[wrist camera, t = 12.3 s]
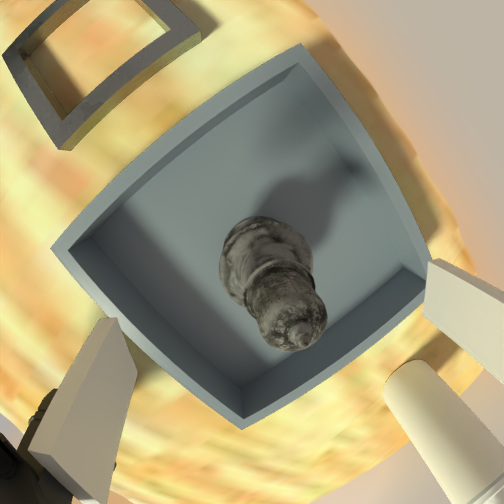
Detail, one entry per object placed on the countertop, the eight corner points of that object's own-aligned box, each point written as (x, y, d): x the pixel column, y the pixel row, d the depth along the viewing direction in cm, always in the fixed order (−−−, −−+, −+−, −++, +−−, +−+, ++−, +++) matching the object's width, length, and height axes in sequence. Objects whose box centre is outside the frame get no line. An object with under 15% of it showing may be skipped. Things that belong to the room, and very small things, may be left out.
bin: (80, 232, 20) (50, 248, 16) (283, 68, 19) (300, 42, 14) (237, 392, 26) (241, 429, 21) (408, 265, 24) (441, 284, 20)
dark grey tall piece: (210, 221, 20) (202, 289, 9) (292, 204, 21) (379, 249, 9) (227, 297, 22) (241, 417, 11) (303, 280, 22) (376, 379, 11)
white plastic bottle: (381, 410, 30) (474, 562, 6) (381, 374, 28) (502, 550, 4) (425, 387, 30) (529, 517, 6) (429, 349, 28) (561, 491, 4)
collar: (13, 60, 15) (1, 55, 13) (122, -33, 14) (116, -45, 12) (70, 150, 19) (58, 149, 17) (201, 41, 18) (200, 30, 16)
